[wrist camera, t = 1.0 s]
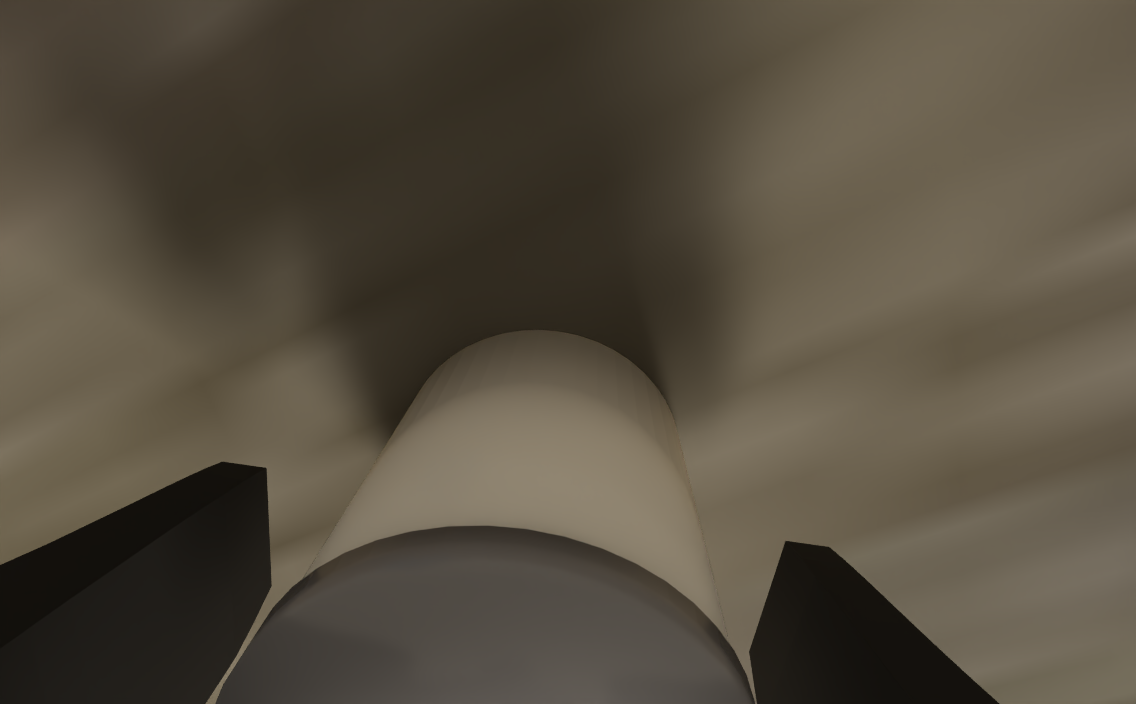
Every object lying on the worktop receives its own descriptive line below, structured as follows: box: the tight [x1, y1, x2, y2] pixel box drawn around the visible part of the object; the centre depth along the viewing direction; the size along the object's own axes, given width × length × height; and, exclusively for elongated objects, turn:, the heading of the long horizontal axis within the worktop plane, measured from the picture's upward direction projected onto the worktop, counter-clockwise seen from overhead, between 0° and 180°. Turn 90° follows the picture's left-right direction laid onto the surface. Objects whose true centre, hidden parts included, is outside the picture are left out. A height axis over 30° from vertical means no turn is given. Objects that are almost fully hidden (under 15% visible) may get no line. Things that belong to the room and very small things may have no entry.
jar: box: [216, 330, 755, 704], centre depth 9 cm, size 5×5×6 cm
